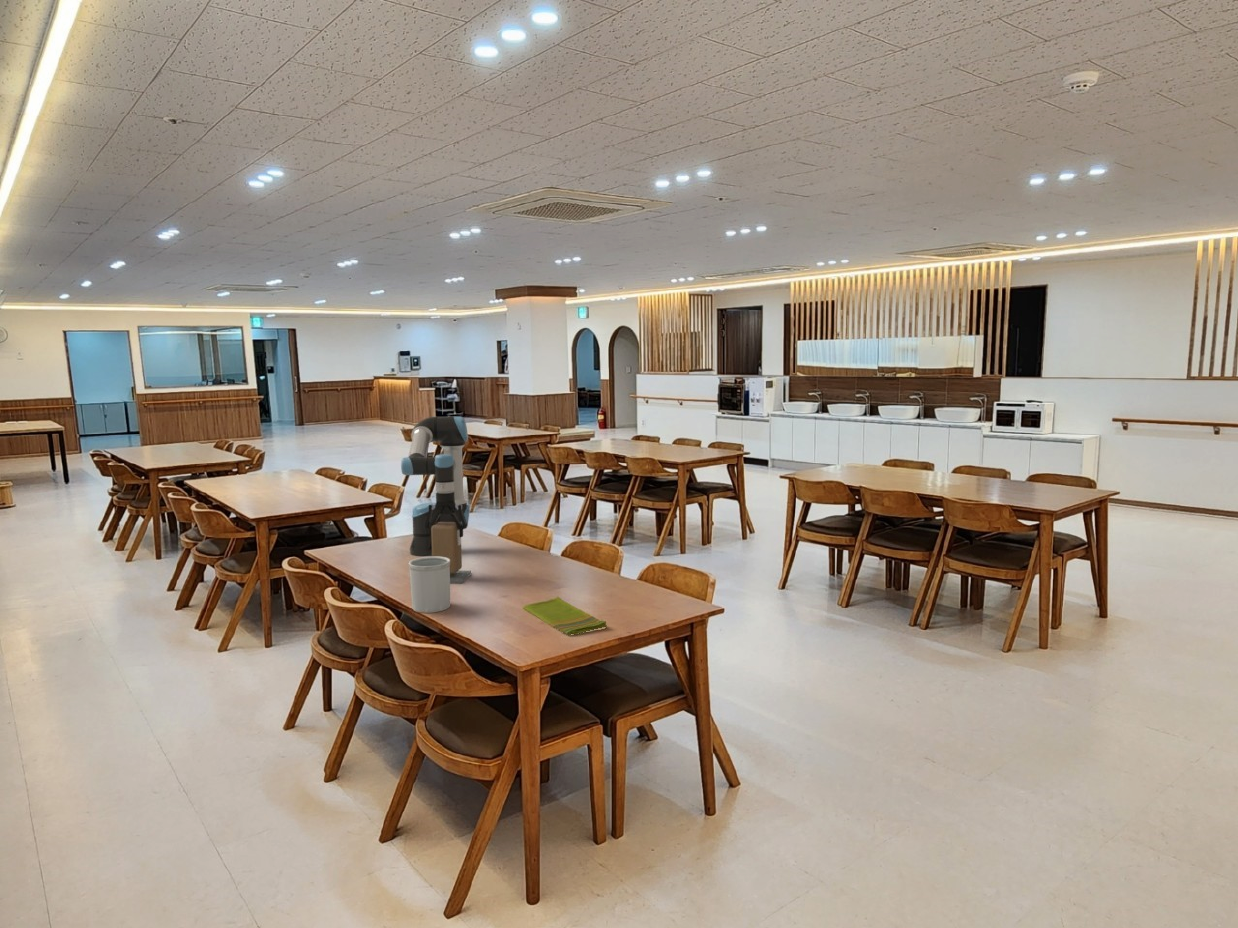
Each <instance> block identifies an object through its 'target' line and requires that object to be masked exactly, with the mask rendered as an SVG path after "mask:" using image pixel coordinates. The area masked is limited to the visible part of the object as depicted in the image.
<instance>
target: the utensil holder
mask: <svg viewBox="0 0 1238 928" xmlns="http://www.w3.org/2000/svg"><path fill="white" fill-rule="evenodd" d="M449 565H450V559H449V558H446V557H440V556H432V555H428V556H421V557H418V558H413V559H411V560H409V561H408V568H409V581H410V596H411V608H412V610H413V611H415V612H417V613H424V614H426V613H427V614H430V613H438V612H441V611H445V610H447V609H449V608H450V606H451V583H450V566H449Z"/></svg>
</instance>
